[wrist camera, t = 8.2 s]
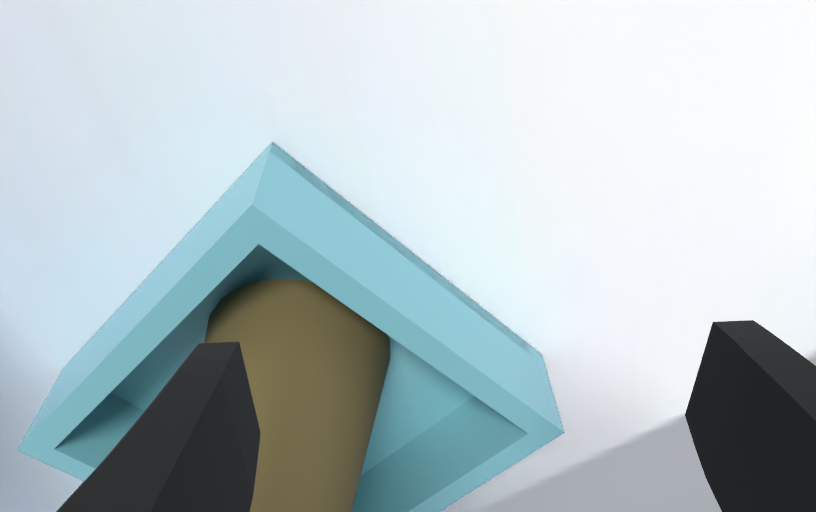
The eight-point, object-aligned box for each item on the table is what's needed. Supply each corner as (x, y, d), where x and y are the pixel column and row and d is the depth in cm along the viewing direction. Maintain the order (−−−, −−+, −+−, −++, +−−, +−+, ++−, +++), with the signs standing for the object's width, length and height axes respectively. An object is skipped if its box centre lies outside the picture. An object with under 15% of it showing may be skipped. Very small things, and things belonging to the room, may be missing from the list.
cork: (423, 375, 22) (409, 785, 14) (277, 419, 24) (188, 800, 16) (327, 252, 19) (234, 697, 11) (167, 315, 21) (-18, 729, 13)
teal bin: (542, 355, 24) (564, 432, 21) (324, 508, 28) (317, 588, 25) (272, 141, 19) (251, 204, 16) (62, 370, 23) (16, 450, 20)
